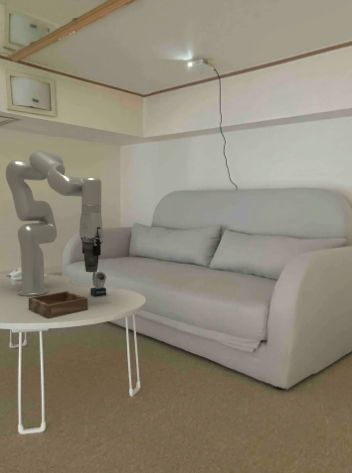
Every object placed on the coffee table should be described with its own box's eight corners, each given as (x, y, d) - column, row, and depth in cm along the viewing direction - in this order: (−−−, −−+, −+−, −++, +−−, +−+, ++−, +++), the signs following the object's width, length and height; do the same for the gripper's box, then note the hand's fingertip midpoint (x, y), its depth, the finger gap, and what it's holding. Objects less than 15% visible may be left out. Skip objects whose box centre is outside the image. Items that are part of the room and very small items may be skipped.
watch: (96, 297, 161) (96, 272, 160) (88, 294, 168) (88, 270, 167) (108, 295, 165) (108, 271, 164) (100, 292, 171) (100, 268, 170)
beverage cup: (92, 273, 144) (92, 221, 142) (78, 271, 147) (78, 220, 145) (104, 270, 150) (104, 221, 148) (90, 268, 153) (90, 220, 151)
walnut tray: (28, 309, 143) (28, 297, 143) (66, 301, 154) (66, 291, 154) (48, 318, 132) (47, 306, 131) (87, 309, 143) (87, 298, 143)
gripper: (71, 208, 150) (71, 252, 151) (95, 210, 137) (95, 258, 139) (87, 208, 155) (87, 251, 157) (112, 210, 143) (112, 256, 144)
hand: (91, 254), depth 148 cm, fingers closed on beverage cup, 7 cm apart
